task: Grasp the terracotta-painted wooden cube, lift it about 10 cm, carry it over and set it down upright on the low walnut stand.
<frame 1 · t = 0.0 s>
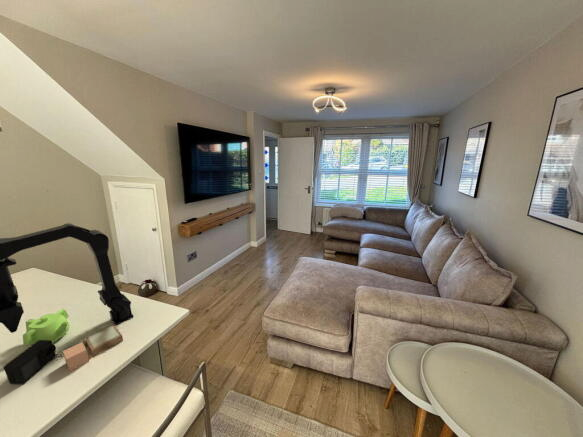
hand: (12, 325, 76), 15 cm above the table, fingers open, 9 cm apart
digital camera: (36, 370, 77), on the table
teapot: (51, 339, 89), on the table
stand: (104, 341, 89), on the table
cube: (77, 362, 80), on the table
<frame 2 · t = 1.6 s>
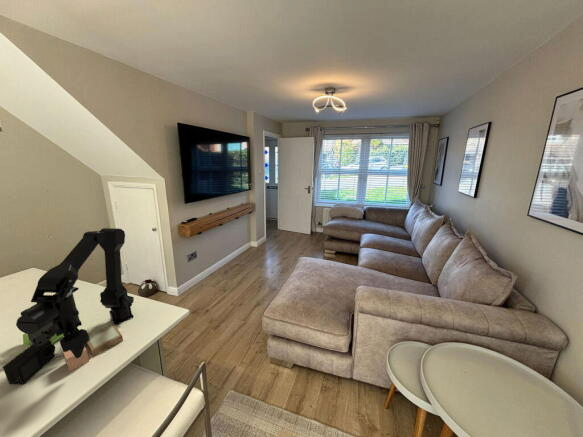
hand: (74, 350, 79), 5 cm above the table, fingers open, 9 cm apart
nothing on the table moved.
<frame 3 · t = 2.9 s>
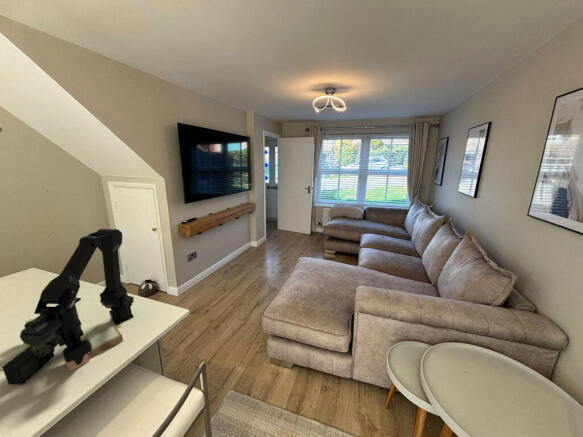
hand: (77, 359, 80), 1 cm above the table, fingers closed on cube, 5 cm apart
cube: (77, 362, 80), on the table, touching gripper
everything else where it was.
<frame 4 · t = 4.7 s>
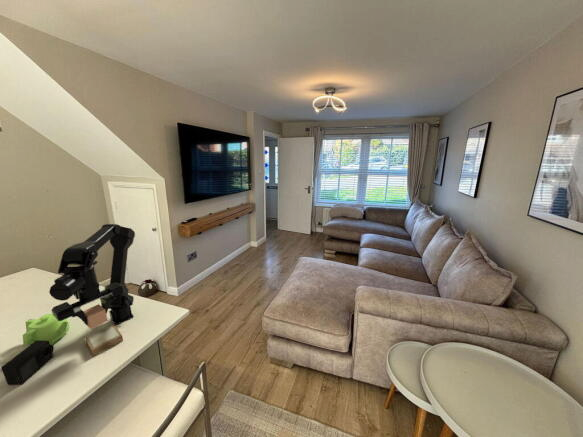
hand: (95, 319, 85), 11 cm above the table, fingers closed on cube, 5 cm apart
cube: (96, 322, 85), point 10 cm above the table, touching gripper
everything else where it was.
when the fingers open (4 cm above the table, at t = 6.8 s): cube stays where it is, resting on stand.
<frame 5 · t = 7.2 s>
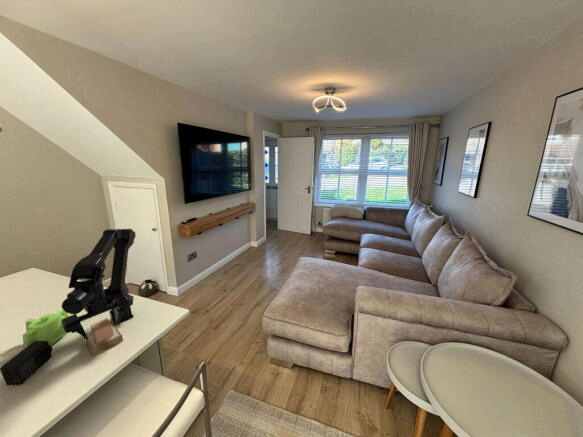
hand: (102, 331, 88), 4 cm above the table, fingers open, 9 cm apart
cube: (103, 335, 88), point 3 cm above the table, touching stand
everything else where it was.
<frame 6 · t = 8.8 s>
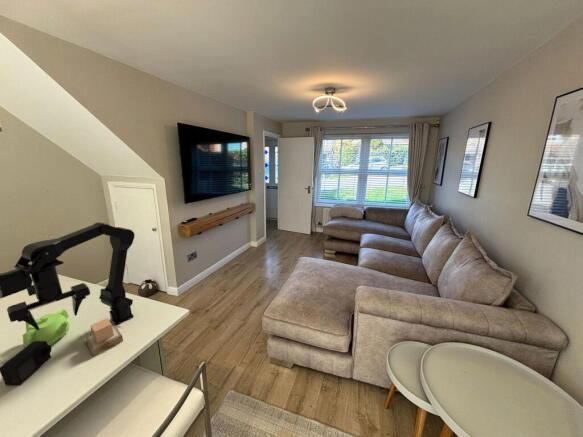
hand: (57, 322, 80), 13 cm above the table, fingers open, 9 cm apart
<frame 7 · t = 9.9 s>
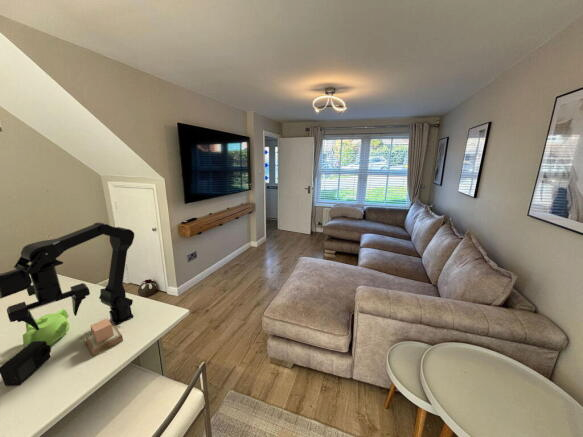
hand: (57, 322, 81), 12 cm above the table, fingers open, 9 cm apart
at the end: cube inside the target area on the stand (0.0 cm from its centre), point 2.6 cm above the stand's base; cube tilted 0°; the gripper is holding nothing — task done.
